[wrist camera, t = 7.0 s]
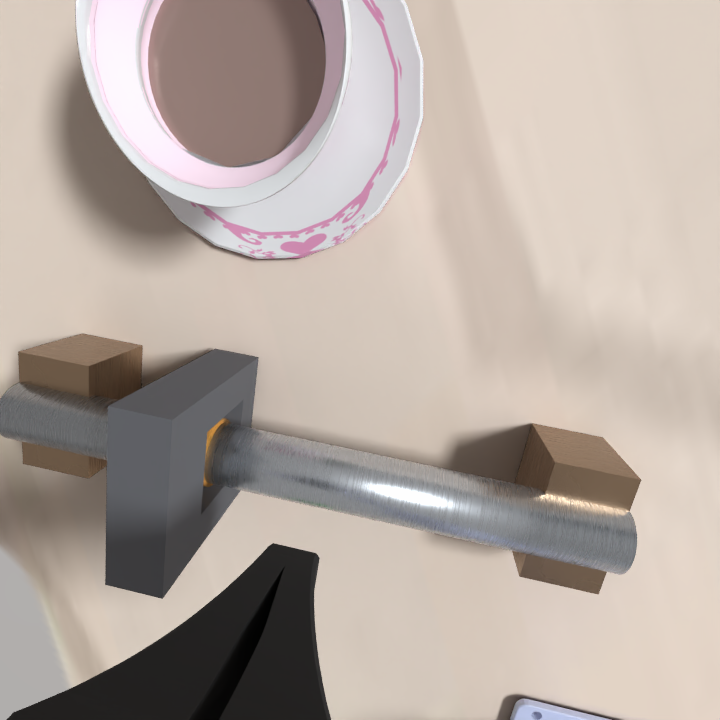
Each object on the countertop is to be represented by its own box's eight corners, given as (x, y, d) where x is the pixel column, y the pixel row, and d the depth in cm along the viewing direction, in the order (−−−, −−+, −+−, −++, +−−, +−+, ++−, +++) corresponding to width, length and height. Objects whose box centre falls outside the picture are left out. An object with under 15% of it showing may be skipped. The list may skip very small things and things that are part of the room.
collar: (258, 357, 20) (172, 419, 13) (245, 484, 22) (162, 598, 15) (215, 348, 20) (107, 406, 13) (205, 475, 22) (105, 584, 15)
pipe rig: (603, 437, 20) (660, 500, 15) (569, 536, 21) (612, 622, 16) (82, 333, 22) (-13, 360, 17) (82, 429, 23) (-6, 479, 18)
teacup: (445, 229, 19) (457, 225, 13) (176, 281, 21) (78, 299, 15) (396, -126, 16) (381, -343, 10) (92, -25, 18) (-72, -155, 12)
